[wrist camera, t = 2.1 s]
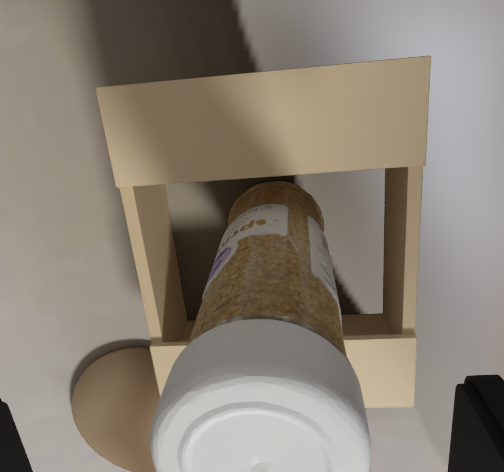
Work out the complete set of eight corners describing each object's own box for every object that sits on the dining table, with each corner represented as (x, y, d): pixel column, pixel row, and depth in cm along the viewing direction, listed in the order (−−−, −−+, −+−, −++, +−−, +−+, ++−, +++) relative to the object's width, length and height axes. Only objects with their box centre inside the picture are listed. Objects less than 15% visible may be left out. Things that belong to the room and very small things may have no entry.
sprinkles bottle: (239, 167, 20) (163, 347, 8) (337, 192, 21) (412, 407, 8) (219, 256, 22) (129, 517, 10) (309, 279, 22) (334, 566, 10)
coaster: (219, 344, 24) (217, 349, 24) (236, 468, 27) (235, 475, 27) (58, 349, 25) (54, 354, 25) (94, 469, 28) (91, 476, 28)
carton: (399, 55, 18) (430, 55, 14) (392, 346, 23) (413, 406, 19) (135, 80, 19) (95, 87, 15) (183, 353, 24) (163, 411, 20)
